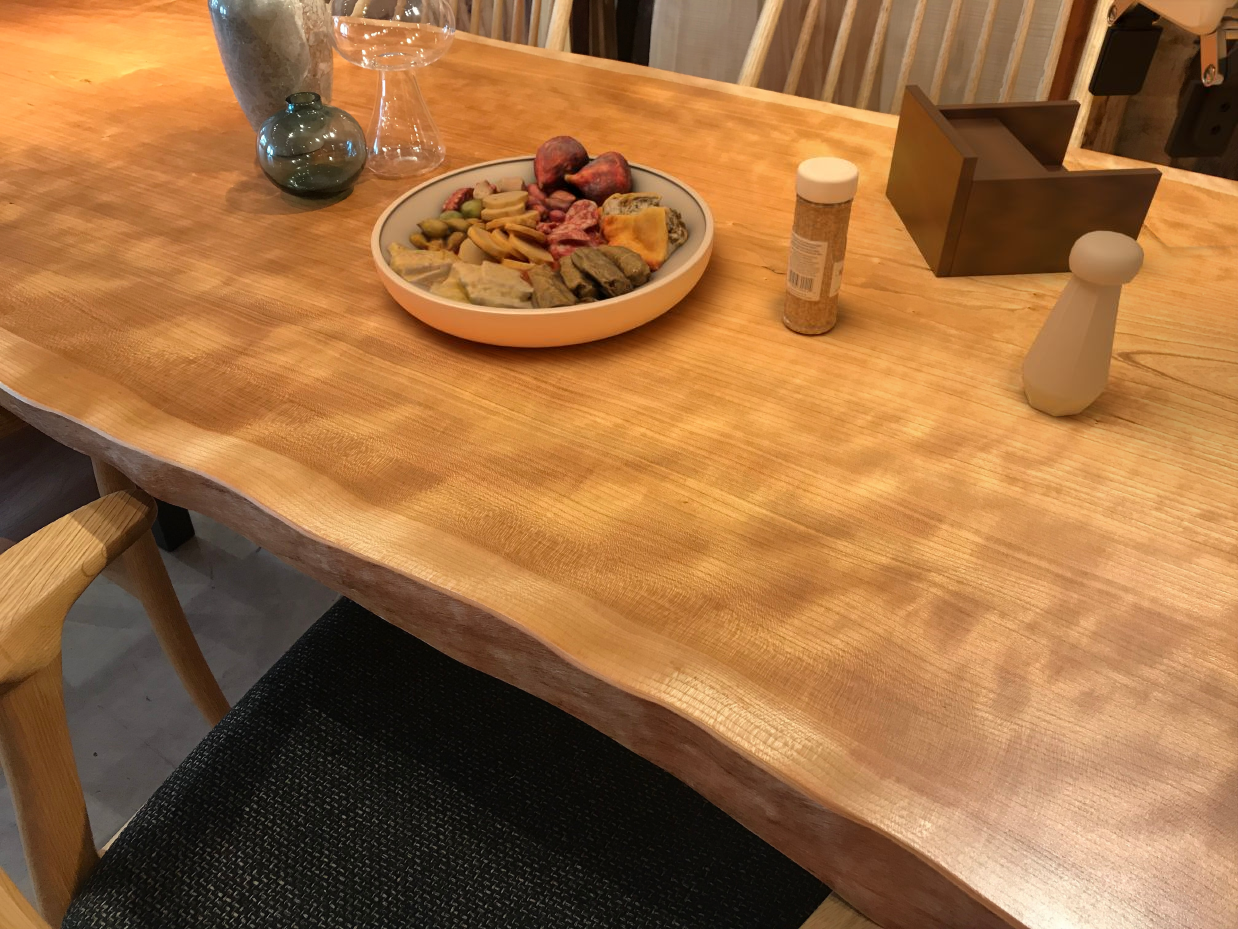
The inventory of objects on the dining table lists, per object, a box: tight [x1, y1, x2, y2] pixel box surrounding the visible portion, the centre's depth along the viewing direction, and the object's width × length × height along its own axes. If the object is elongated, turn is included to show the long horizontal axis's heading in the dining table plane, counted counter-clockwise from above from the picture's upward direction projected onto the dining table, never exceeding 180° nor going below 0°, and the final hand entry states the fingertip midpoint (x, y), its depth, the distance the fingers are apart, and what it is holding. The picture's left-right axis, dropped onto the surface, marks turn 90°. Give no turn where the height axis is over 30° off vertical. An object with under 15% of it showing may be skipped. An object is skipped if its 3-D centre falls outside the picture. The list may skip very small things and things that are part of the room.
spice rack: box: [885, 84, 1163, 278], centre depth 84 cm, size 17×17×11 cm
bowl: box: [370, 135, 715, 348], centre depth 81 cm, size 30×30×8 cm
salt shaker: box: [1020, 231, 1145, 418], centre depth 63 cm, size 6×6×13 cm
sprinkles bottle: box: [781, 156, 860, 335], centre depth 72 cm, size 5×5×13 cm
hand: (1149, 122), depth 54 cm, fingers open, 9 cm apart
